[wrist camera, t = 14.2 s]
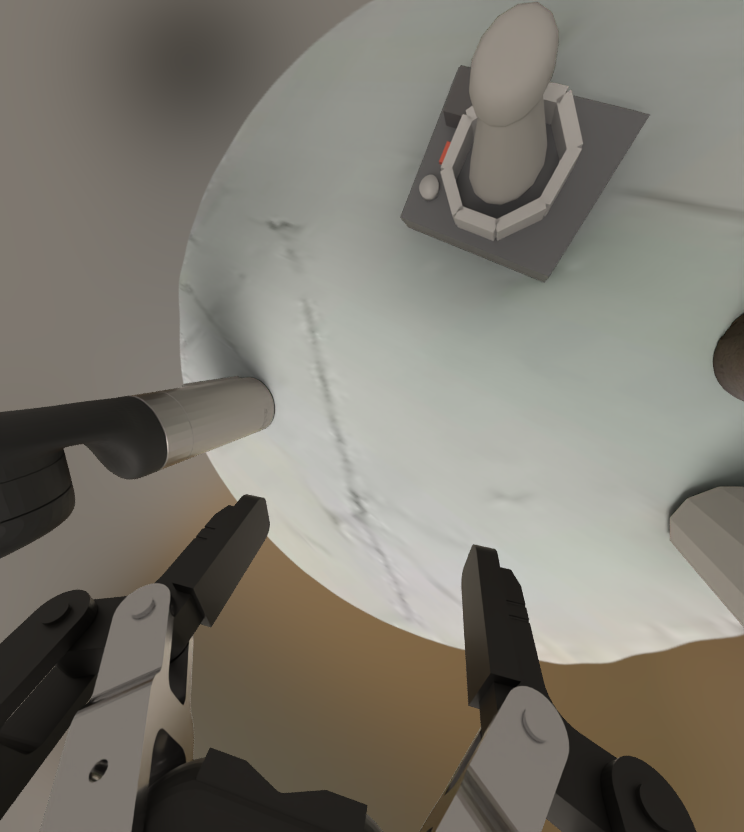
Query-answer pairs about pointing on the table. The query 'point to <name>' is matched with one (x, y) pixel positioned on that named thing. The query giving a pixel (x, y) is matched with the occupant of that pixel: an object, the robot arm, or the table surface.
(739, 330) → the pillar candle
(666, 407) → the table surface
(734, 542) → the jar
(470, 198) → the octagon ring base
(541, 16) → the salt shaker
